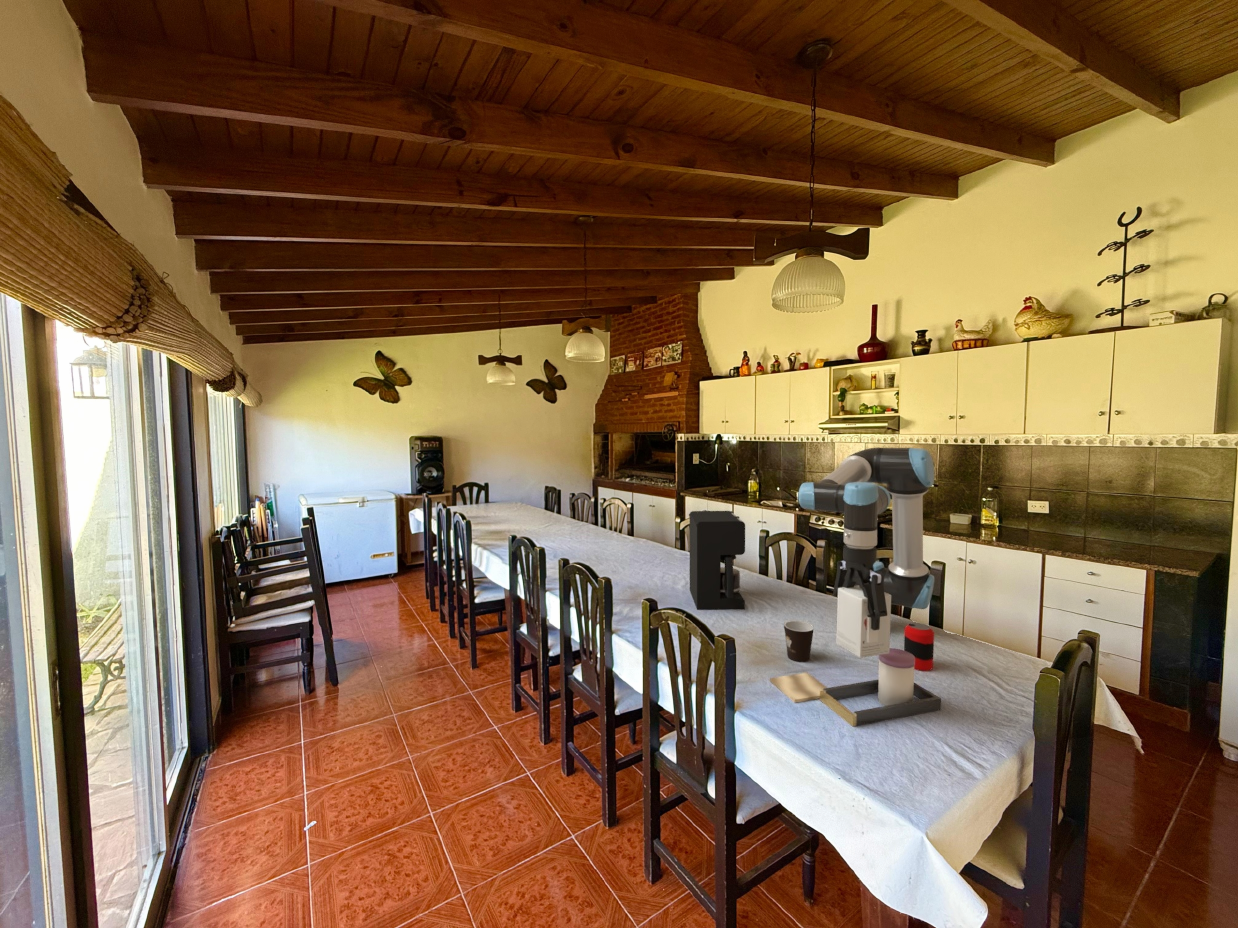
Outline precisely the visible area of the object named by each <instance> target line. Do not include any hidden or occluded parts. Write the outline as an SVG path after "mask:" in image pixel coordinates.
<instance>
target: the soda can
mask: <svg viewBox="0 0 1238 928" xmlns="http://www.w3.org/2000/svg"><path fill="white" fill-rule="evenodd" d="M903 639H904V640H903V650H904V651H907V652H909V653H911V654H912V655H914V657H915V665H914V671H915V670H916V671H921V672H928V671H931V670H932V669H933V668H934V645H935V632H934V631H933V629H932V628H931V626H930V625H928V624H925V623H921V622H909V623H908V624H907V625H906V626H905V627H904V637H903Z"/></svg>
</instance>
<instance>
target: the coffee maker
mask: <svg viewBox="0 0 1238 928" xmlns="http://www.w3.org/2000/svg"><path fill="white" fill-rule="evenodd" d="M688 517H689V592H690V595H691V597H692V600H693V602H694V607H695V608H696V610H697V611H698V610H699V611H706V610H707V611H708V610H709V611H712V610H714V611H715V610H716V611H718V610H720V611H721V610H724V611H725V610H726V611H728V610H737V611H738V610H739V611H740V610H742V611H743V610H745V607H746V601H745V598H744V597H743V596H742V593H741V592H740V589H741V571H740V569H737V568H734V564H733V563H734V562H733V560H736V559H737V556H742V555H744V554H745V553H746V523H745V522H744V521H743V520H742V519H741V518H740V516H737V515H736V514H735V513H734V511H732V510H692V511H690V512H689V514H688ZM721 561H724V566H722V567H721ZM737 563H738V564H739V562H737Z"/></svg>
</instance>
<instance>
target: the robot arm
mask: <svg viewBox="0 0 1238 928" xmlns="http://www.w3.org/2000/svg"><path fill="white" fill-rule="evenodd" d="M934 482H935V467H934V461H933V457H932V455H931V453H930V451H928V449H925V448H914V447H871V448H866V449H862V450H859V451H857V452H854V453H853V454H849V455H848V456H847V457H845V458H844V459H843V460H842V461H841V463H840V465H839V467H837V468H835V470H833V471H832V472H830V473H829V474H828V475H826V476H825V477H823V478H822V479H821V480H819V481H818V482H813V481H811V482H803V483H801V485H800V487H799V489H798V502H799V505H800V508H802V509H805V510H811V511H819V512H831V513H842V514H843V543H844V545H843V547H842V549H843V551H842V558H843V560H840V561H839V560H838V561H837V562H836V569H837V570H836V575H835V580H834V586H833V590H832V591H833V592H832V594H833V596H834V597H836V598H837V599H838V588H842V587H844V588H851V587H854V586H859V587H860V588H861V589H862V591H863V594H864V597H866V598H867V600H868V611H869V614H870V615H867V632H866V642H868V643H871V642H877V641H878V630H879V628H880V617H883V616H887V607H886V600H885V593H888V594H890V595H891V605H896V606H900V607H901V606H902V607H906V608H910V609H917V610H918V609H919V610H926V609H927V608H928V607H929V605H930V603H931V599H932V596H933V592H934V585H935V575H932V574H931V573H930V574H929V572H930V571H929V567H928V566H927V565H926V564H924V528H923V527H924V521H923V520H924V519H923V518H924V517H923V515H924V514H923V513H924V511H923V509H924V508H923V504H924V503H923V500H924V499H923V496H924V495H925V494H927V492H929V488H930V487H932V486H933V485H934ZM881 484H882V485H884V484H885V485H886V487H884V486H882V485H881ZM890 504H891V505H892V506H891V509H892V511H891V513H892V517H891V518H892V550H893V551H892V552H893V553H892V554H893V555H892V556H893V557H892V558H893V561H892V562H891V563H889V565H888V567H885V565H884V563H883V561H877V556H878V555H877V554H878V553H877V550H878V549H877V547H876V546H877V545H878V515H880V514H883V513H884V512H885V511H886V510H887V509H888V508H889V506H890ZM884 592H885V593H884ZM874 610H875V612H874Z"/></svg>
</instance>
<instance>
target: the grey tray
mask: <svg viewBox="0 0 1238 928" xmlns="http://www.w3.org/2000/svg"><path fill="white" fill-rule="evenodd" d="M878 684H879V679H873V680H867V681H862V682H855V683H849V684H842V685H838V686H830V687H827V688H824V689H823V691H820V699H819V701H820V702H822V703H823V704H824V705H825V706H826V707H828V709H831V710H832V712H834V713H835V714H836V715H837V716H839V717H840V718H841V719H843V720H844V721H845V722H846V723H847V724H849V725H850V726H852V727H858V726H864V725H869V724H874V723H879V722H880V723H881V722H885V721H889V720H895V719H901V718H905V717H910V716H916V715H921V714H927V713H932V712H937V711H941V710H942V697H940V696H938V695H937V694H934V693H933V692H932V691H929V690H928V689H926V688H925V687H923V686H921V685H920V684H918V683H916V682H914V691H913V697H915V698H917V700H913V701H910V702H905V703H899V704H894V705H888V706H884V705H883V706H879V707H873V708H867V709H863V710H856V711H853V712H852V711H851V710H849V709H848V708H847V707H845V706H844V705H843V704H841V703H840V702H839V701H838V700H842V699H847V698H853V697H855V698H856V697H860V696H866V695H871V694H878Z"/></svg>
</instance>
